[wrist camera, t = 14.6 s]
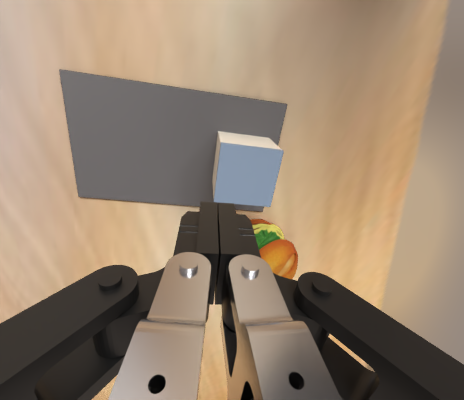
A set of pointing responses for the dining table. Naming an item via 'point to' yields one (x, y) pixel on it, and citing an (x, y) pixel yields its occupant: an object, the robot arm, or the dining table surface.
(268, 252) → the cheeseburger
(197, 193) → the rubber mat
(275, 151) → the cream cube
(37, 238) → the dining table surface
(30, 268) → the dining table surface
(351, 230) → the dining table surface
